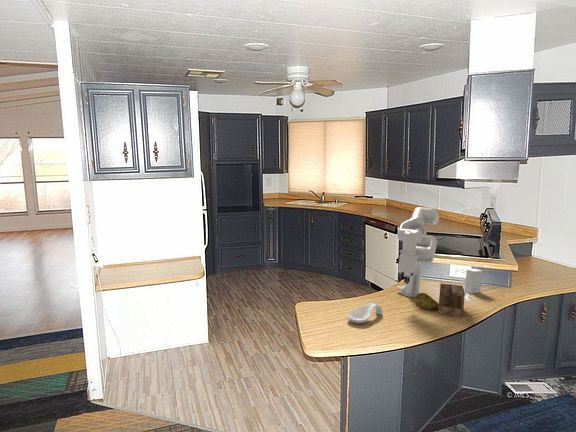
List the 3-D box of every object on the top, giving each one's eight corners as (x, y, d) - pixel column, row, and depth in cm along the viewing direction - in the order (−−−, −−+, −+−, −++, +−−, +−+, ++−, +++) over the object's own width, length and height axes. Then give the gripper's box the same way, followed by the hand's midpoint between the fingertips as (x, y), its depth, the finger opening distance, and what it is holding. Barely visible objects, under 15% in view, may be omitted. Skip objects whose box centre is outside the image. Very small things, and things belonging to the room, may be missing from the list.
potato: (430, 312, 238) (431, 299, 237) (413, 305, 249) (414, 292, 248) (440, 310, 242) (441, 297, 241) (423, 303, 253) (424, 290, 252)
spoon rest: (359, 328, 216) (360, 315, 215) (342, 320, 225) (343, 308, 224) (387, 317, 231) (388, 304, 230) (370, 310, 240) (371, 298, 239)
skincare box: (471, 293, 271) (473, 271, 269) (464, 290, 277) (466, 269, 275) (480, 292, 275) (483, 270, 272) (473, 289, 280) (475, 268, 278)
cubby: (439, 313, 237) (441, 290, 235) (438, 305, 251) (440, 283, 248) (462, 316, 233) (464, 293, 231) (460, 307, 247) (462, 285, 245)
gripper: (395, 252, 243) (393, 283, 245) (422, 255, 238) (419, 286, 241) (396, 250, 250) (394, 280, 252) (422, 252, 245) (419, 283, 248)
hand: (406, 283), depth 247 cm, fingers closed
